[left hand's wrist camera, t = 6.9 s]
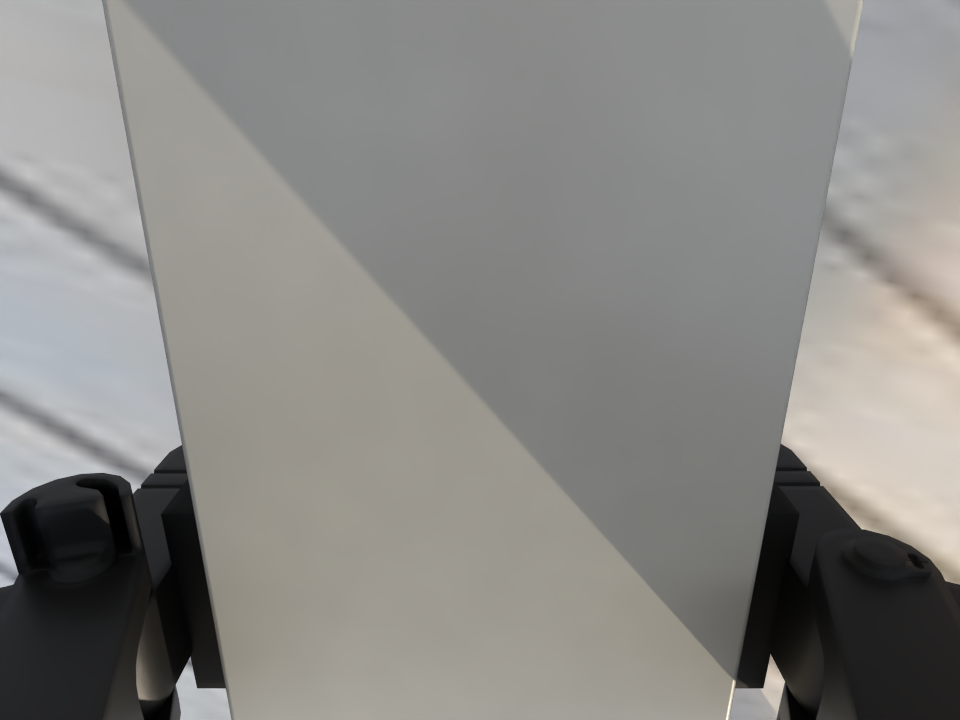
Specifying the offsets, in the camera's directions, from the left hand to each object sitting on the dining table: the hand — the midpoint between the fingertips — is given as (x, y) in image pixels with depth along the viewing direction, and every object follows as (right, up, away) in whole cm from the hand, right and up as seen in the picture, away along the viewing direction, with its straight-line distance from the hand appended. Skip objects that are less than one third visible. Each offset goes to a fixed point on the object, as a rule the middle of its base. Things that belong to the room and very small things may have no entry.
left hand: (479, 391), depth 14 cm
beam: (0, -19, +8) cm, 21 cm away
